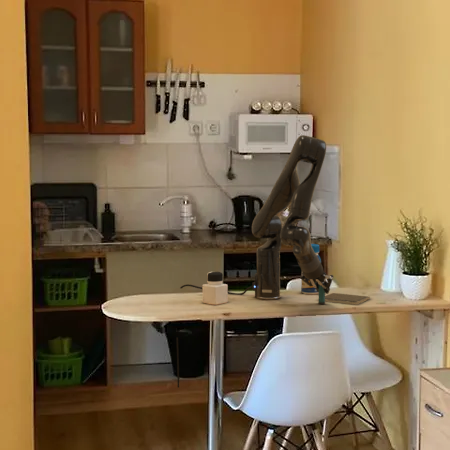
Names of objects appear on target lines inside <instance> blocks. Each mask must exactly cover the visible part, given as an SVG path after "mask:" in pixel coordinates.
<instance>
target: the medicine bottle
mask: <svg viewBox="0 0 450 450" xmlns="http://www.w3.org/2000/svg"><path fill="white" fill-rule="evenodd" d="M206 282H207V283H205V284H202V286H201V287H202V289H203V290H202V289H201V290H202V304H208V305H213V306H217V305H218V306H219V305H223V304H227V303H228V302H229V298H228V297H229V294H228V292H229V291H228V289H229V288H228V287H229V286H228V283H227V284H226V283H223V282H224V278H223V272H220V271H209V272H207V274H206Z"/></svg>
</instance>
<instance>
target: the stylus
mask: <svg viewBox="0 0 450 450" xmlns="http://www.w3.org/2000/svg"><path fill="white" fill-rule="evenodd" d="M325 296H326V293H325V291H324V289H323V287H322V286H320V285H319V294H318V301H317V302H318V303H317V304H318V305H326V301H325Z"/></svg>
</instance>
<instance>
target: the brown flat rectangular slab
mask: <svg viewBox="0 0 450 450" xmlns="http://www.w3.org/2000/svg"><path fill="white" fill-rule="evenodd" d="M369 300H371V296H369V295H357V294H348V293H338V292H332V293H328V294H325V303H337V304H346V305H355V306H358V305H361V304H362V303H364V302H366V301H369Z"/></svg>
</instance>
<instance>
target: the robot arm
mask: <svg viewBox="0 0 450 450" xmlns="http://www.w3.org/2000/svg"><path fill="white" fill-rule="evenodd" d="M326 153H327V143H326V141H325V140H323V139H321V138H317V137H313V136H309V135H305V134H302V135H299V136H298V137H297V138H296V140H295V142H294V144H293V146H292V148H291V150H290V153H289V155H288V158H287V160H286V162H285V164H284V166H283V169H282V171H281V173H280V174H279V176H278V178H277V179H276V181H275V183H274V185H273V187H272V189H271V191H270V193H269V194H268V197H267V199H266V200H265V202H264V204H263V205H262V207H261V208H260V209H259V211H258V212H257V214H256V215H255V216H254V219H253V220H252V224H251V233H252V235H253V236H254V237H255V238H257V239H261V240H262V239H266V241H265V242H264V243H263V244H262V245H260V246H258V247H257V248H256V273H255V274H254V282H252V283H251V284H252V285H250V286H249V287H247V288H245V290H244V291H243V292H240V293H238V292H237V293H236V292H230V291H228V295H235V296H243V295H245V294H246V293H247V291H248V290H250V289H251V290H252V292H253V291H254V298H255V299H259V300H278V299H280V298H281V255H280V254H281V248H282V244H283V245H285V246H293V247H292V253H293V255H294V256H293V257H295V259H296V262H297V264H298V266H299V269H300V271H301V270H302V272H303V273H302V274H301V273H300V277H299V278H300V280H303V281H304V282H305V283H306V284H308V285H309V286H313V287H314V288H316V290H317V291H318V293H319V285H320V286H322V287H323V289H324V291H325V295H329V294H330V290H331V286H332V282H333V279H334V275H333V274H330V275H328V274H327V273H326V272H325V271H324V267H323V265H322V262H321V263H320V261H319V259H318V257H317V255H316V254H315V252H314V250H313V248H312V246H311V244H312V240H311V232H310V230H309V229H308V228H307V227H305V226H299V225H297V224H298V223H300V222H303V221H307V220H308V219H309V217H310V211H311V205H312V200H313V196H314V192H315V190H316V189H315V188H316V186H317V182H318V180H319V178H320V173H321V171H322V167H323V165H324V161H325V157H326ZM300 162H304V163H308V164H311V168H310V170H309V172H308V174H307V175H306V177H305V178H304V180H303V181H302V182H301V181H300V177H299V173H298V165H299V163H300ZM289 206H290V208H289V211H288V215H287V217H286V219H285V221H284V223H282V219H281V218H280V216H279V215H278V214H279V213H281V212H282V211H284V210H285V209H287V208H288V207H289ZM309 281H310V283H309ZM185 287H191V288H195V289H198V290H199V289H200V290H202V291H203V289H202V286H197V285H195V284H184V285H183V284H182V285H181V286H180V287H179V289H183V288H185ZM179 358H180V356H179V337H178V336H177V337H176V371H177V373H176V374H177V388H180V359H179Z"/></svg>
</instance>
